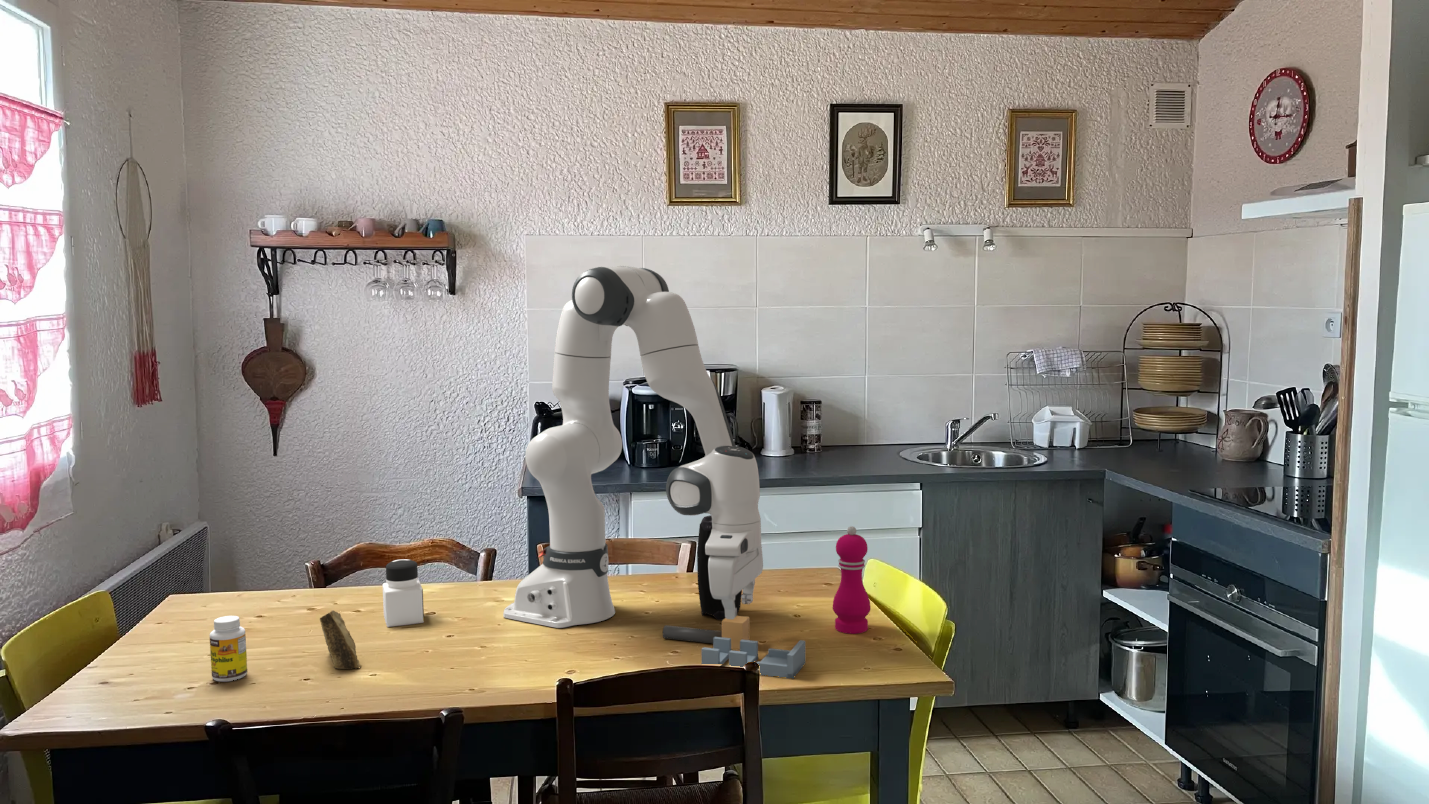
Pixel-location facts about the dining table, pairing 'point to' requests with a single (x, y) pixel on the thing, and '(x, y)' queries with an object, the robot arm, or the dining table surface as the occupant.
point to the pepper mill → (851, 585)
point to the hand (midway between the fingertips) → (739, 610)
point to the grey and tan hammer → (712, 632)
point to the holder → (783, 661)
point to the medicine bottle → (402, 594)
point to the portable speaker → (705, 596)
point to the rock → (339, 641)
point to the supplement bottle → (228, 649)
